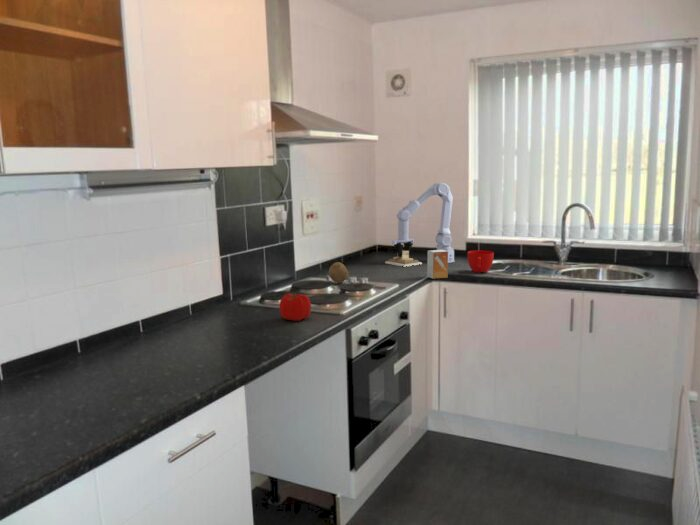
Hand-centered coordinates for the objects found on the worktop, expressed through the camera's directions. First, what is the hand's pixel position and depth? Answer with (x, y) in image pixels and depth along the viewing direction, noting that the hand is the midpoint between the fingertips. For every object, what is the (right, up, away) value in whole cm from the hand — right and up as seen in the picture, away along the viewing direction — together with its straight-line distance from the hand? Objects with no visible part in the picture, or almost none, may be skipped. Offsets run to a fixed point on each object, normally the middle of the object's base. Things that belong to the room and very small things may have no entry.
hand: (403, 256), depth 319 cm
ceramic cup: (+36, -9, -28) cm, 47 cm away
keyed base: (0, -4, +1) cm, 4 cm away
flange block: (0, -2, +1) cm, 2 cm away
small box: (+13, -11, -39) cm, 43 cm away
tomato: (-49, -24, -112) cm, 125 cm away
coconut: (-35, -13, -50) cm, 62 cm away
